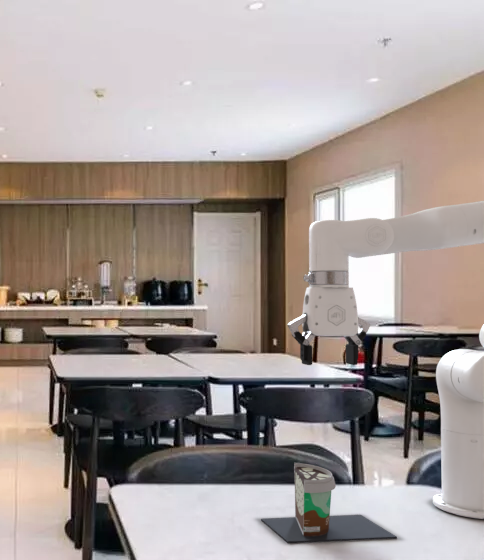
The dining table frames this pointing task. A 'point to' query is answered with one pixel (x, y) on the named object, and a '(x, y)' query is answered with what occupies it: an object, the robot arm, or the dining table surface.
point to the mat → (330, 529)
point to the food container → (313, 498)
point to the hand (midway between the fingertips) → (329, 364)
